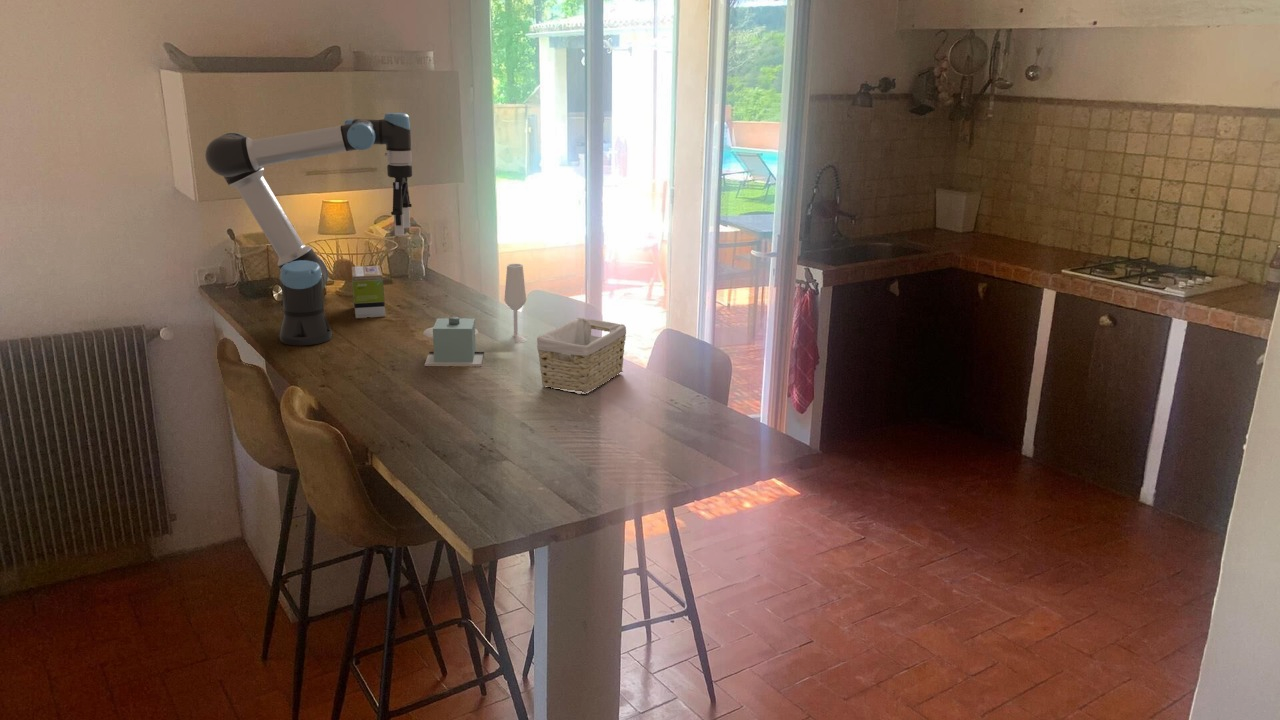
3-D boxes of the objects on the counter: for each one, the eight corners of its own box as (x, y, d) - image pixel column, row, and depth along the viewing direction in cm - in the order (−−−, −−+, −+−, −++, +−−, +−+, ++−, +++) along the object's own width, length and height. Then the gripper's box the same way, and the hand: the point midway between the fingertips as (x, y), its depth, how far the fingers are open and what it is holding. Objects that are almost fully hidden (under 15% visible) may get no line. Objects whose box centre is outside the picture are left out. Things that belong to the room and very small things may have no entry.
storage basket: (585, 399, 250) (586, 345, 245) (534, 388, 257) (533, 336, 252) (627, 374, 270) (629, 324, 266) (578, 364, 277) (579, 316, 272)
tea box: (353, 307, 329) (350, 265, 325) (383, 305, 332) (381, 264, 328) (354, 318, 316) (352, 275, 311) (386, 317, 319) (383, 274, 314)
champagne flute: (530, 339, 299) (530, 265, 291) (516, 344, 294) (515, 268, 286) (514, 335, 302) (514, 262, 295) (500, 340, 297) (499, 265, 290)
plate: (446, 347, 288) (446, 332, 286) (412, 336, 298) (411, 321, 297) (489, 336, 301) (488, 321, 299) (454, 326, 311) (454, 311, 309)
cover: (472, 362, 273) (471, 323, 270) (434, 362, 272) (432, 323, 269) (475, 350, 284) (474, 313, 280) (438, 350, 283) (437, 313, 279)
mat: (481, 366, 272) (481, 363, 272) (424, 366, 271) (424, 364, 270) (484, 349, 287) (484, 347, 287) (431, 349, 286) (431, 347, 286)
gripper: (393, 159, 307) (396, 224, 313) (380, 168, 283) (384, 238, 290) (417, 159, 307) (419, 224, 314) (405, 169, 284) (409, 239, 290)
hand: (402, 231), depth 302 cm, fingers open, 13 cm apart
